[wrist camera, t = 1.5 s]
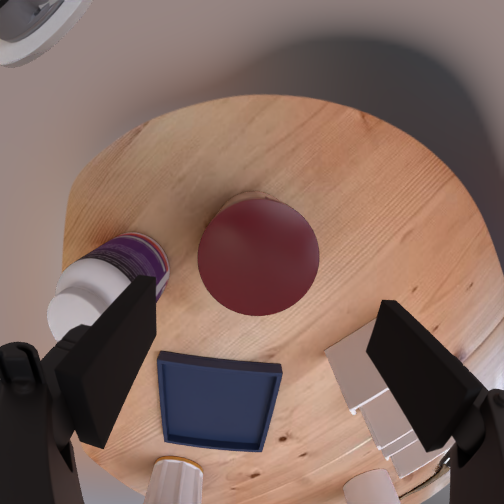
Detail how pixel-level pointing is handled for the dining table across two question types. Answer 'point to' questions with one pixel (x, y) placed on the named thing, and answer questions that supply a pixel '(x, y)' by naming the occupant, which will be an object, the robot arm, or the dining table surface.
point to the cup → (175, 482)
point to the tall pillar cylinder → (371, 489)
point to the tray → (216, 401)
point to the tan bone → (429, 481)
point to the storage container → (377, 403)
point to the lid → (258, 256)
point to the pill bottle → (104, 280)
